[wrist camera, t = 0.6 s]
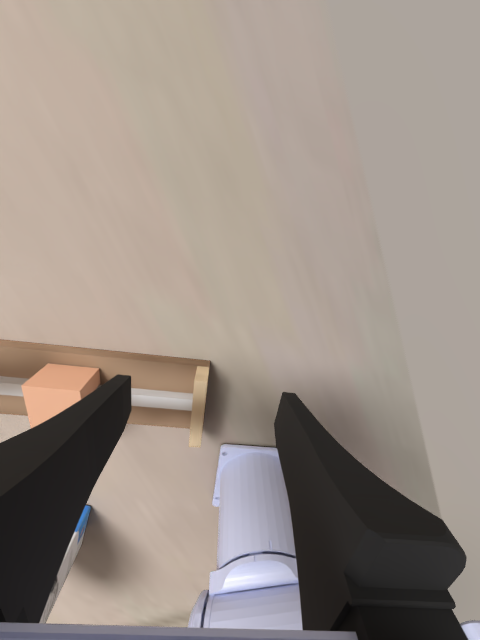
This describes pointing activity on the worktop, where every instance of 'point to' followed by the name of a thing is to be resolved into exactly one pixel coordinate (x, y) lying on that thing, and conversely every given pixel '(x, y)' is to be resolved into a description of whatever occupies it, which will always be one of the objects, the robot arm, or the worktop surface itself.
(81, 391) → the block
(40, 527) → the robot arm
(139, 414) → the rail board
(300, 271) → the worktop surface
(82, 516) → the ink box
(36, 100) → the worktop surface
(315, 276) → the worktop surface
